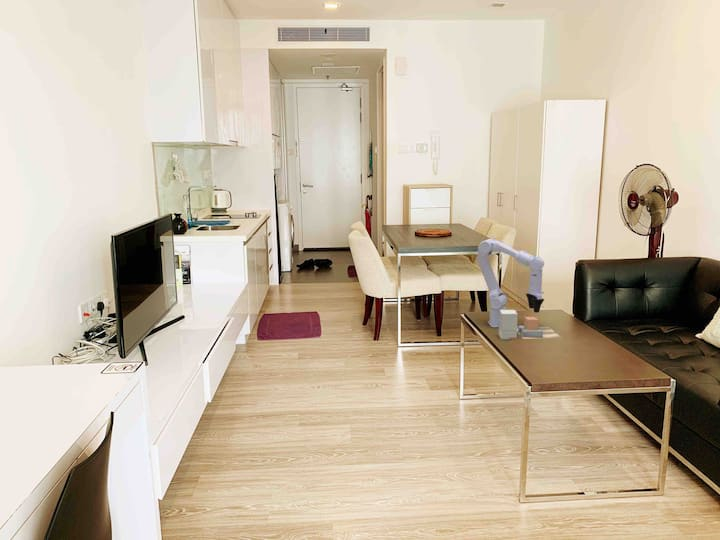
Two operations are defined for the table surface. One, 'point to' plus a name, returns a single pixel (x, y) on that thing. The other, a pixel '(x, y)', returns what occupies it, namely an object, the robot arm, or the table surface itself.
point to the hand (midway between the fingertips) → (533, 310)
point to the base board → (546, 334)
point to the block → (531, 323)
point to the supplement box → (508, 324)
